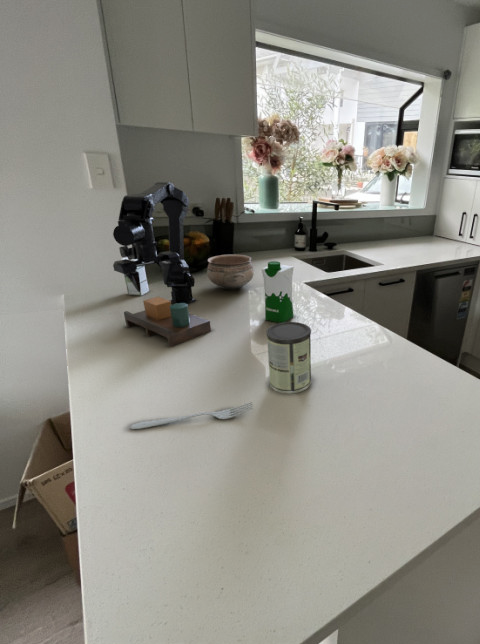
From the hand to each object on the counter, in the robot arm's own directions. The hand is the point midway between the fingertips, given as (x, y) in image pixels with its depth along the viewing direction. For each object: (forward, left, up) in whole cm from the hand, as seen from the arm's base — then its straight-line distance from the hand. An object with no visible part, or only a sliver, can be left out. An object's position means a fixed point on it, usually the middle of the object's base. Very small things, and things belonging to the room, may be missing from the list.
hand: (152, 288), depth 120 cm
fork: (+25, +53, -12) cm, 59 cm away
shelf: (+1, +7, -12) cm, 14 cm away
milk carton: (-27, +29, -12) cm, 41 cm away
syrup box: (-12, -33, -12) cm, 37 cm away
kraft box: (+1, +3, -8) cm, 9 cm away
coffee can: (+2, +59, -12) cm, 61 cm away
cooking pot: (-40, -10, -12) cm, 43 cm away
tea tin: (+1, +15, -8) cm, 17 cm away
